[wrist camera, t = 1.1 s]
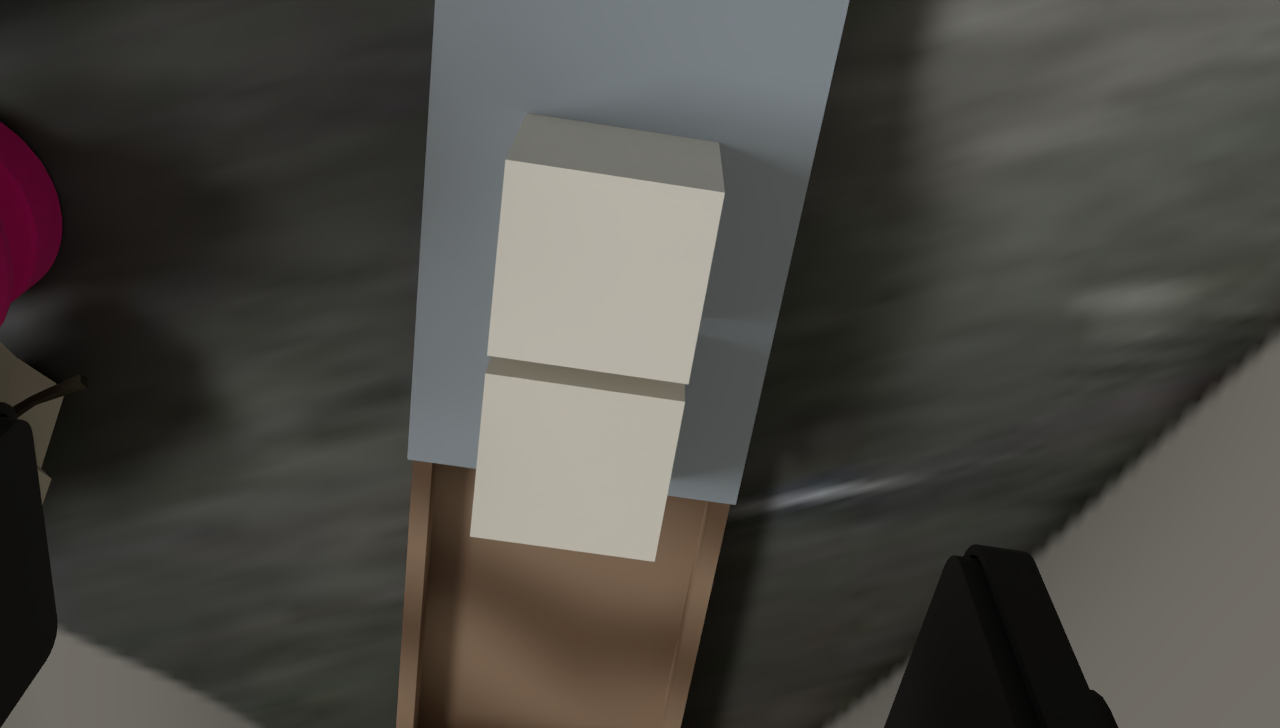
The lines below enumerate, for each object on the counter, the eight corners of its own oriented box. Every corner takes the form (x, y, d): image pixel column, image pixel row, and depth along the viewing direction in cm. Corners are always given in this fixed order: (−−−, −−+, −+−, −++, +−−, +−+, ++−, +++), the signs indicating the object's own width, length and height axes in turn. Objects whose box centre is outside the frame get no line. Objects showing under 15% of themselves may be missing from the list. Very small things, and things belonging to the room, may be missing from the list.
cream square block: (507, 306, 31) (484, 373, 28) (683, 332, 32) (685, 402, 28) (491, 456, 34) (469, 536, 30) (656, 480, 34) (654, 561, 30)
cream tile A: (526, 112, 29) (505, 159, 25) (719, 142, 29) (724, 192, 25) (508, 289, 31) (486, 355, 28) (687, 316, 31) (688, 384, 28)
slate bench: (472, -300, 27) (453, -308, 25) (883, -232, 27) (901, -233, 25) (423, 417, 36) (407, 459, 34) (732, 460, 36) (735, 505, 34)
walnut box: (423, 417, 36) (396, 487, 32) (732, 460, 36) (738, 534, 33) (403, 727, 42) (377, 814, 39) (666, 761, 43) (665, 850, 39)
